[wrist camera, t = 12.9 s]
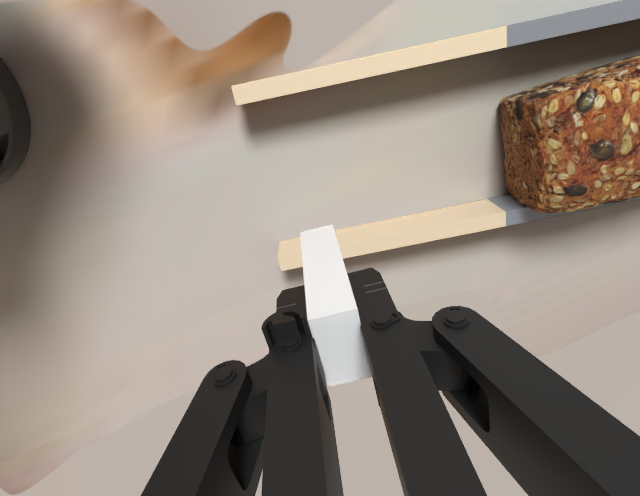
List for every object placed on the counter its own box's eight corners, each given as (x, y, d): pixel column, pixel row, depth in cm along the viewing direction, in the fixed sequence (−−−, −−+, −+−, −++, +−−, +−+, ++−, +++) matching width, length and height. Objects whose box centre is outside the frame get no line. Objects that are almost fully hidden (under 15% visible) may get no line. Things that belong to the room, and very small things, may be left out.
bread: (696, 29, 35) (838, 13, 25) (683, 146, 39) (801, 168, 30) (489, 92, 36) (554, 98, 27) (499, 198, 40) (558, 234, 31)
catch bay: (238, 84, 34) (231, 86, 31) (759, -29, 33) (817, -42, 29) (282, 253, 41) (281, 271, 38) (714, 166, 40) (756, 176, 36)
